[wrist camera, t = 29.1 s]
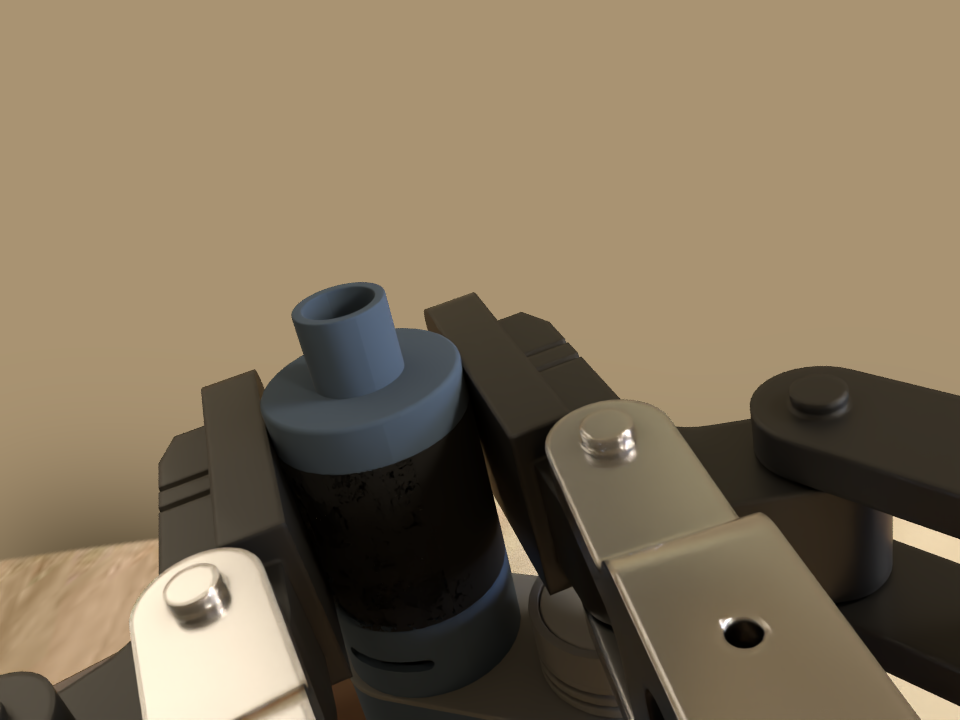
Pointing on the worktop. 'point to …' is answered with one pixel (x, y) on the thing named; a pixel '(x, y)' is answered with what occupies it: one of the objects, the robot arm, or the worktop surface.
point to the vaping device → (418, 528)
